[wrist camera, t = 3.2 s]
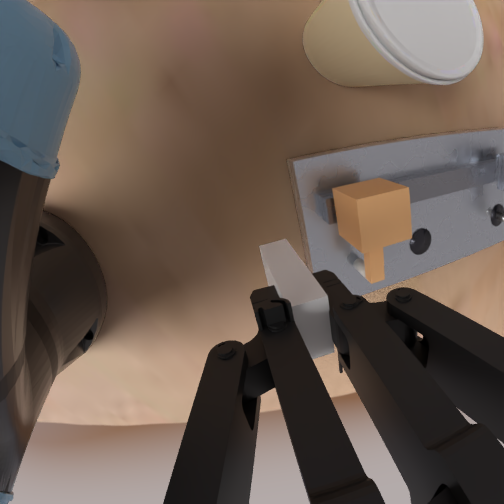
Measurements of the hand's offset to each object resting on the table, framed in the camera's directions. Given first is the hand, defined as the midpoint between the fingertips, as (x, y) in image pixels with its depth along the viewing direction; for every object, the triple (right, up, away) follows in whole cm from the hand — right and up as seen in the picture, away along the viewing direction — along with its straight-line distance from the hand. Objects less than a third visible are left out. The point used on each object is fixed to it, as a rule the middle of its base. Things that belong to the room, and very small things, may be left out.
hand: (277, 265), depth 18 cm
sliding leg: (+7, +3, +8) cm, 11 cm away
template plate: (+15, +6, +11) cm, 19 cm away
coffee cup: (+6, +18, +5) cm, 20 cm away
